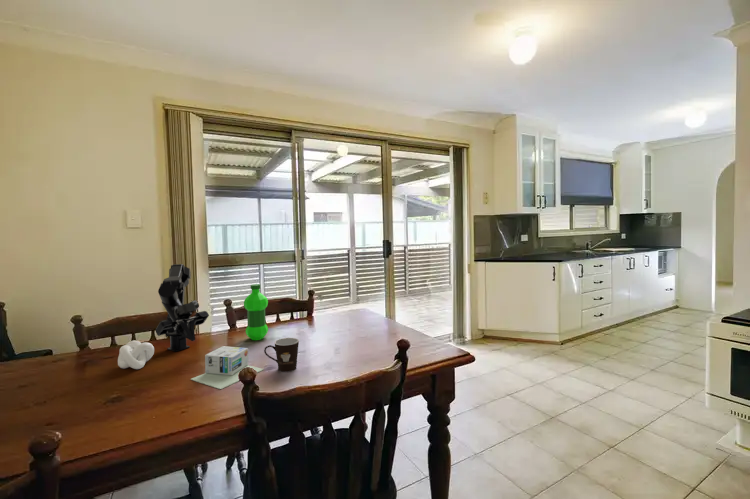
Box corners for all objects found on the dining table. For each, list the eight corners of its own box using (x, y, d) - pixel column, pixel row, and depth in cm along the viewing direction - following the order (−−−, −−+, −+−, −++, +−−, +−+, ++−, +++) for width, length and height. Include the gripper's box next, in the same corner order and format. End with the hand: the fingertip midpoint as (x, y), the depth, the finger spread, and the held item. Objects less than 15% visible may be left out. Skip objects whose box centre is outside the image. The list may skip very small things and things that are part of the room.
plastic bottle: (273, 337, 171) (271, 284, 170) (255, 343, 162) (253, 287, 161) (259, 333, 177) (257, 282, 175) (240, 339, 168) (238, 285, 166)
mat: (190, 379, 125) (190, 378, 125) (234, 362, 140) (234, 361, 140) (220, 389, 117) (220, 388, 117) (263, 369, 132) (263, 369, 132)
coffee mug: (303, 365, 136) (303, 339, 136) (291, 374, 128) (290, 346, 128) (277, 361, 140) (276, 336, 140) (263, 370, 132) (262, 343, 131)
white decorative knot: (150, 358, 146) (149, 335, 145) (159, 366, 137) (157, 342, 137) (116, 365, 138) (114, 342, 137) (123, 374, 130) (121, 350, 129)
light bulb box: (204, 373, 129) (232, 376, 127) (204, 354, 128) (231, 357, 126) (223, 362, 139) (249, 365, 137) (222, 345, 139) (248, 347, 137)
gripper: (158, 299, 131) (178, 334, 127) (205, 290, 147) (224, 321, 143) (147, 318, 136) (166, 352, 131) (193, 308, 152) (212, 338, 147)
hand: (193, 340), depth 138 cm, fingers closed
